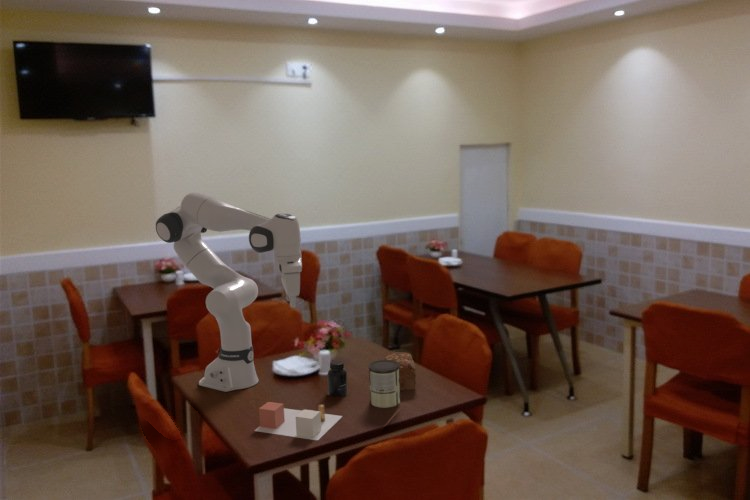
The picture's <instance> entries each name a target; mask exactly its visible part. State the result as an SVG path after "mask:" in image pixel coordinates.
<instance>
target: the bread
mask: <svg viewBox="0 0 750 500" xmlns="http://www.w3.org/2000/svg"><path fill="white" fill-rule="evenodd" d="M384 360H392V361H396V362H397V363H399V388H400V392H407V391H408V392H409V391H414V390H416V384H417V382H416V381H417V371H416V370H417V368H416V365H415V362H414V361H415V360H413V356H412V354H411V353H409V352H404V351H402V352H398V351H397V352H391V353H390V354H388V355H387V356H385V357H384Z"/></svg>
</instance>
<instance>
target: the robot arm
mask: <svg viewBox="0 0 750 500" xmlns="http://www.w3.org/2000/svg"><path fill="white" fill-rule="evenodd" d="M300 228H301V227H300V224H299V221H298V218H297V217H296V216H295V215H293V214H291V213H290V214H289V213H277V214H275V215H273V217H271V218H270V217H266V216H263V215H260V214H257V213H254V212H252V211H249V210H245V209H243V208H240V207H237V206H235V205H232V204H230V203H227V202H225V201H223V200H220V199H218V198H215V197H213V196H210V195H207V194H204V193H199V192H198V193H197V192H190V193H188V194H186V195H185V196H184V197H183V198H182V200H181V203H180V206H177V207H176V208H174V209H173V210H170V211H169V212H167V213H164V214H162V215H161V216H159V218H158V219H156V222H155V231H156V233H157V235H158V237H159V238H160V239H161V241H163V242H165V243H167V244H168V243H169V244H171V243H173V249H174V251H175V253H176V255H177V256H178V258H179V260H180V261H181V263H182V264H184V267H186V269H187V270H189V272H190V273H191V274H192V275H193V277H195V278H196V279H197V280H198V282H199V283H201V284H202V285H204V286H208V287H211V288H212V289H213V290H211V291H210V292H209V293H208V294H207V295H206V298H205V306H206V309H207V311H208V312H209V313H210V314H211V315H212V316H214V318H215V319H216V321H217V324H218V328H219V333H220V334H219V335H220V345H221V347H219V348H218V349H217V350H215V354H218V356H217V357H216V358H215V359H214V360H212V361H211V362H209V364H208V365H206V367H205V370H204V376H203V377H202V378H201V379H200V380H199V381H198V385H199V386H201V387H204V388H208V389H212V390H216V391H221V392H225V393H226V392H227V393H228V392H231V391H237V390H242V389H247V388H251V387H253V386H255V385H257V384H258V382H259V381H260V380H259V378H258V377H259V376H258V374H257V372H256V368H255V367H256V366H255V364H254V363H255V362H254V354H255V353H254V345H253V344H252V331H251V329H252V328H251V325H250V323H249V322H248V321H246V320H245V319H246V318H245V317H244V315H243V309H244V308H247V307H248V306H250V305H251V304H252V303H253V302H254V301H255V300H256V299H257V298H258V295H259V288H258V284H257V283H256V282H255V280H253V279H251V278H250V277H249V278H248V277H246V276H244V275H242V274H240V273H238V272H237V271H235V270H234V269H233V268H232V267H229V266H228V265H227V264H225V262H223V260H222V259H221V258H220V257H219V256H217V254H216V253H215V252H214V251H213V250H212V248H210V246H209V245H208V244H207V243H206V242H205V241H204V239H203V238H202V234H204V233H207V231H213V232H218V233H219V232H220V233H221V232H229V231H237V230H241V231H242V230H244V231H249V234H248V241H249V245H250V246H251V249H252V250H253V251H254V252H256V253H259V254H260V253H261V254H265V253H271V252H273V253H274V266H275V270H276V271H279V274H280V277H281V285H282V286H283V289H284V291H285V295H286V297H285V298H286V301H288V302H289V307H290V308H291V309H292V308H296V307H297V297H298V296H300V292H301V272H302V271H303V259H302V257H303V256H302V255H303V254H302V250H301V248H300V247H301V230H300Z"/></svg>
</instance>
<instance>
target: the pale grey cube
mask: <svg viewBox="0 0 750 500" xmlns="http://www.w3.org/2000/svg"><path fill="white" fill-rule="evenodd" d="M301 411H302V412H300V413H299V414H298V415H297V416H296V434H297V435H299V436H305V437H312V438H313V437H314V436H315V435H316V434H317V433H318V432H320V431H321V415H320V411H318V410H313V409H306V408H305V409H302V410H301Z"/></svg>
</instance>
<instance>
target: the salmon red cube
mask: <svg viewBox="0 0 750 500" xmlns="http://www.w3.org/2000/svg"><path fill="white" fill-rule="evenodd" d="M284 404H285V403H279V402H273V401H267V402H266V403H265V404H263V405H262V406H261V407H258V409H259V410H258V414H259V427H267V428H273V429H276V428H277V427H279V426H280V425H281V424H282V423H283V422H285V419H284V408H285V405H284Z"/></svg>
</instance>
